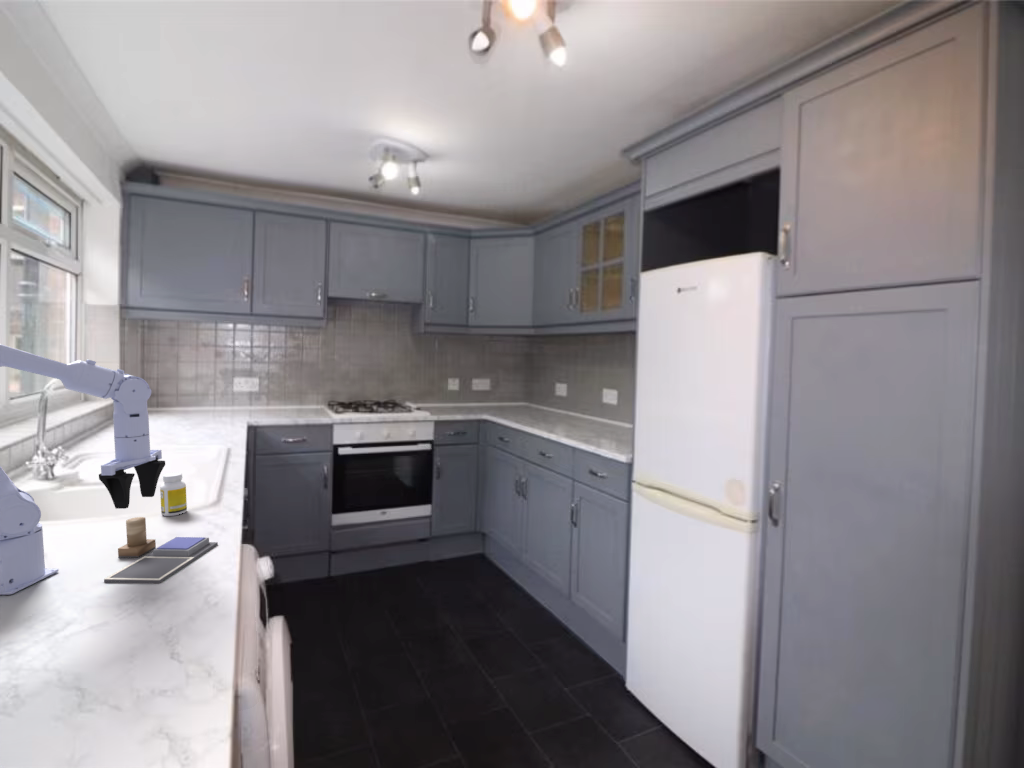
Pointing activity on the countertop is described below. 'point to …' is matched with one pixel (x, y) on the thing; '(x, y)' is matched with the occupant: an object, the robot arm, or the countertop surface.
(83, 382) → the robot arm
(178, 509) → the supplement bottle
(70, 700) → the countertop surface
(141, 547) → the stamp
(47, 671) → the countertop surface
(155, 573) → the stamp mat
